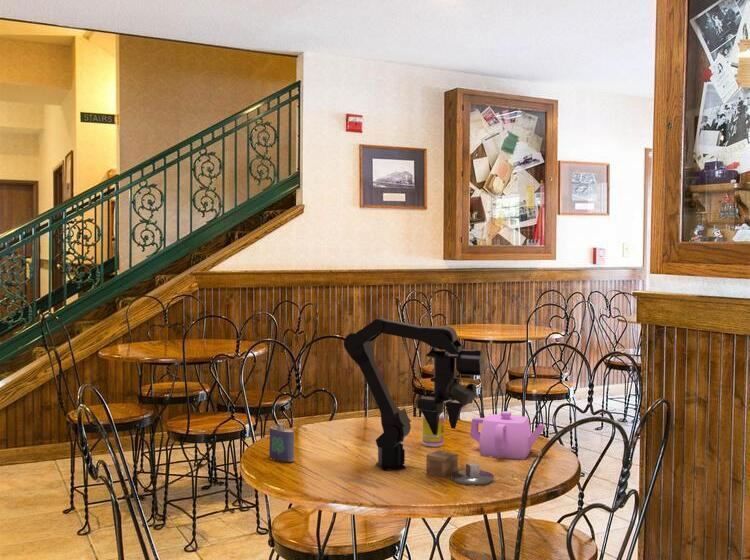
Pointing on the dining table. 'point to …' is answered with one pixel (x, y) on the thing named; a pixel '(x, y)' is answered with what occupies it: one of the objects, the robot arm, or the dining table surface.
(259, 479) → the dining table surface
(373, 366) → the robot arm
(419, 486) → the dining table surface
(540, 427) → the teakettle
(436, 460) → the drawer-style box
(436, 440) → the supplement bottle
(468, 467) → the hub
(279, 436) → the flask
